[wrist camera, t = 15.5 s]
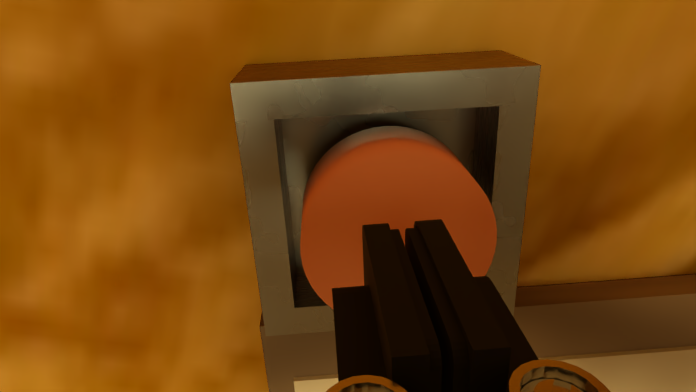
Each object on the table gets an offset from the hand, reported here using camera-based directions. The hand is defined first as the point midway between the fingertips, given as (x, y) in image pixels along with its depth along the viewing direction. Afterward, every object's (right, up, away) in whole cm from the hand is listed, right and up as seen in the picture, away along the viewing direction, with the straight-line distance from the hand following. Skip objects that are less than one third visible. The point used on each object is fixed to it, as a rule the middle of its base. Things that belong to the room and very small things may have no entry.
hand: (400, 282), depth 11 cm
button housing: (0, +3, +6) cm, 7 cm away
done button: (0, +2, +4) cm, 4 cm away
